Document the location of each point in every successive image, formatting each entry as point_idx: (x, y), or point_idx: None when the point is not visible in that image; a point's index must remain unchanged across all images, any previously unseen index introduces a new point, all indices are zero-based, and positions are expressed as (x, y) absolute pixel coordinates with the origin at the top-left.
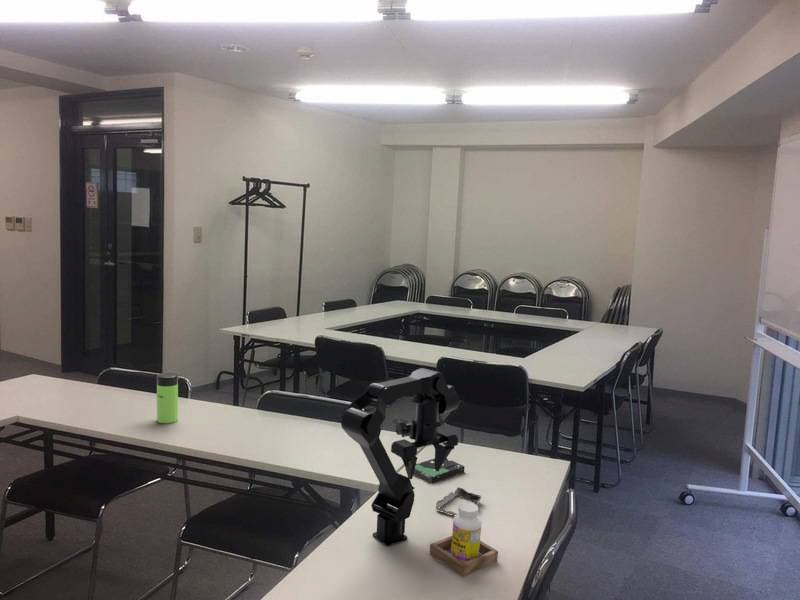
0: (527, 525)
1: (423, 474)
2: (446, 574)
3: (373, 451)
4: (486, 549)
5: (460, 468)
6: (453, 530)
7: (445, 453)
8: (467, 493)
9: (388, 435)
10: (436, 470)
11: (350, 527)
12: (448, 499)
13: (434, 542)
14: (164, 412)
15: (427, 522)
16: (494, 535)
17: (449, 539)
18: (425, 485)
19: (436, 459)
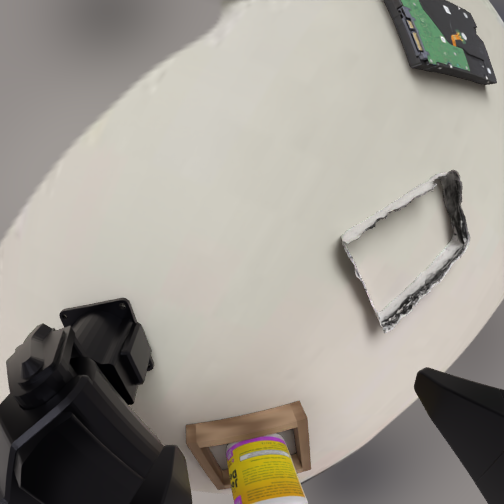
0: (442, 360)
1: (409, 29)
2: (189, 467)
3: None
4: (300, 458)
5: (489, 81)
6: (234, 497)
7: (481, 492)
8: (457, 205)
9: None
10: (417, 385)
11: (19, 238)
12: (408, 195)
13: (200, 441)
14: None
15: (265, 298)
16: (372, 389)
17: (245, 439)
18: (392, 64)
19: (468, 418)
